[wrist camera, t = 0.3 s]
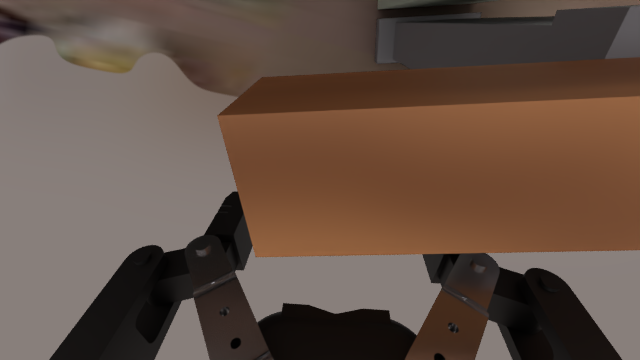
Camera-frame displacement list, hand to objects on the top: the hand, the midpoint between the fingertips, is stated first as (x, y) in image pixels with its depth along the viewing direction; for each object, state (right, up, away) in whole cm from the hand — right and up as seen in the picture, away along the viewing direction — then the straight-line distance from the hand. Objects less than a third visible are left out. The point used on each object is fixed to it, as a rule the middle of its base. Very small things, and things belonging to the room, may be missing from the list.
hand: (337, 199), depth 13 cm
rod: (+10, +3, -7) cm, 12 cm away
